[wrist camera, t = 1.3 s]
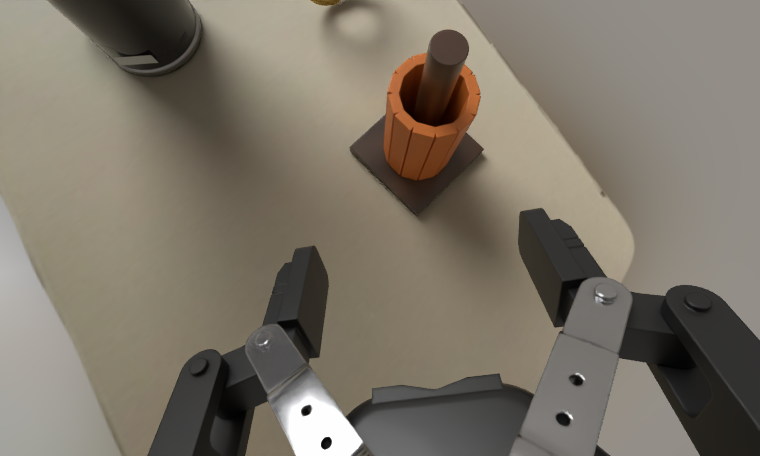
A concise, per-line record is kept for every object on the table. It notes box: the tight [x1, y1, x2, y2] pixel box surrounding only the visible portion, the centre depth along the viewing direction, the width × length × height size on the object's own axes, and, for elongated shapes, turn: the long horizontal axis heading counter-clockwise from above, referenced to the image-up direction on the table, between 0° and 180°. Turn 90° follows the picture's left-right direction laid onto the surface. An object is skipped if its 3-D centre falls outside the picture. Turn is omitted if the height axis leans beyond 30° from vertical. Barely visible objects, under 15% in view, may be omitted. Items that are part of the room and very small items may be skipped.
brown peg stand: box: [350, 30, 484, 215], centre depth 27 cm, size 9×9×15 cm
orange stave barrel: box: [383, 53, 481, 180], centre depth 29 cm, size 6×6×10 cm
